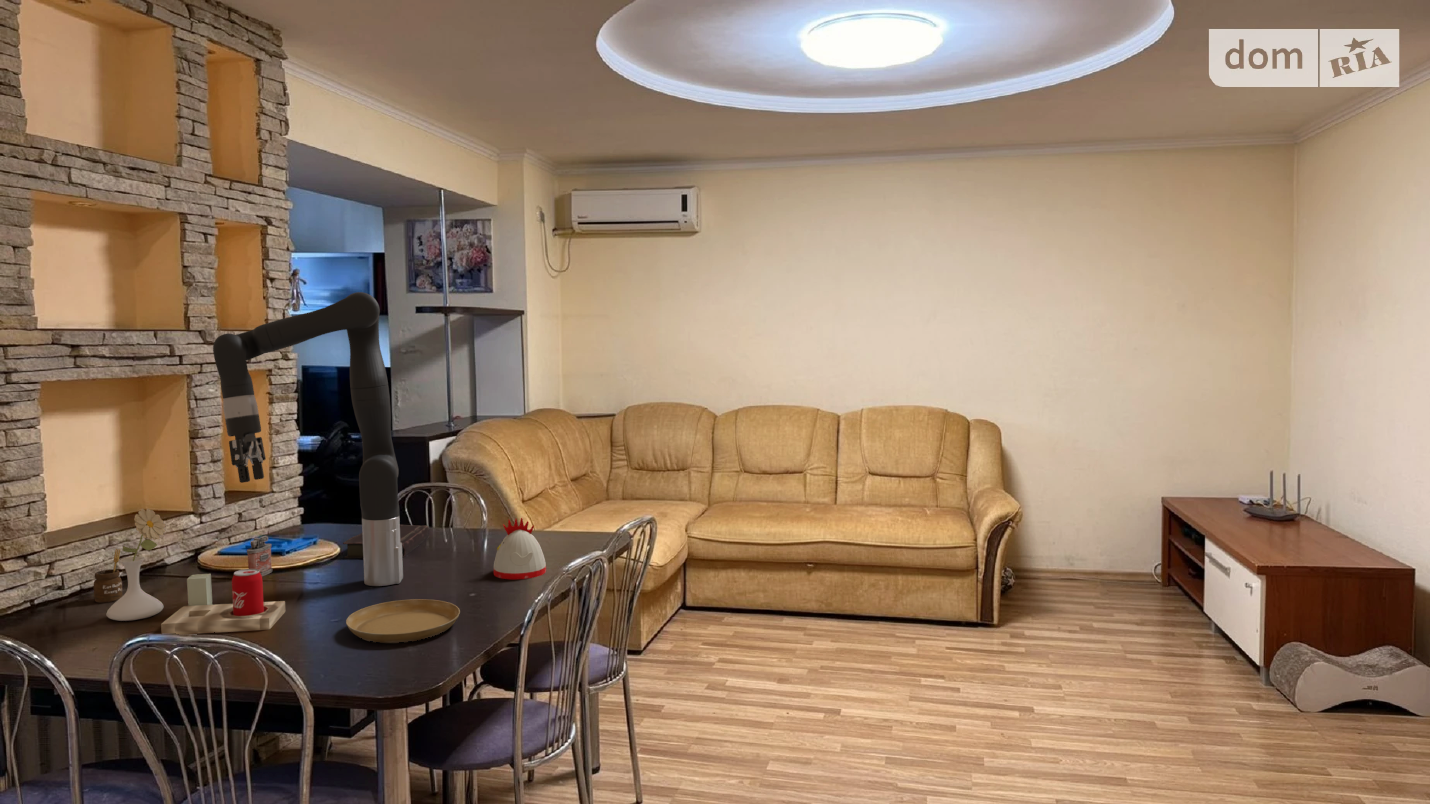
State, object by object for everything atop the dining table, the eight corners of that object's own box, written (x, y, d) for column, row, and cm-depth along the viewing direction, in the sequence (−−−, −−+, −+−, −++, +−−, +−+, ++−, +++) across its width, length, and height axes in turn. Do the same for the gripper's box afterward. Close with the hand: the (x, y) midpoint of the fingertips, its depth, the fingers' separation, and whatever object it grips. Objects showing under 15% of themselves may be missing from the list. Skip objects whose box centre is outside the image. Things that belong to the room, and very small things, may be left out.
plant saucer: (462, 641, 206) (461, 626, 206) (342, 653, 200) (341, 637, 199) (458, 608, 229) (458, 595, 229) (350, 618, 223) (350, 604, 222)
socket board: (285, 613, 225) (284, 600, 225) (269, 631, 213) (269, 618, 212) (184, 618, 222) (183, 606, 221) (161, 637, 209) (161, 623, 209)
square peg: (212, 610, 228) (210, 573, 227) (207, 616, 224) (205, 578, 223) (194, 612, 227) (192, 574, 226) (188, 617, 223) (186, 579, 222)
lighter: (256, 578, 256) (254, 541, 255) (244, 578, 256) (243, 541, 255) (275, 570, 263) (274, 534, 263) (264, 570, 264) (263, 534, 263)
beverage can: (240, 619, 221) (238, 568, 220) (268, 618, 221) (266, 567, 220) (229, 628, 215) (226, 575, 214) (258, 627, 215) (255, 574, 214)
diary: (430, 540, 302) (430, 524, 302) (405, 560, 277) (405, 543, 277) (370, 539, 302) (370, 524, 301) (340, 559, 277) (339, 542, 276)
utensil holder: (88, 601, 235) (85, 553, 234) (112, 594, 241) (110, 547, 240) (105, 604, 233) (102, 555, 232) (129, 597, 239) (126, 549, 238)
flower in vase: (122, 628, 215) (116, 518, 213) (96, 620, 221) (89, 512, 219) (181, 612, 226) (175, 507, 224) (154, 605, 232) (148, 503, 230)
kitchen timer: (491, 568, 265) (490, 514, 264) (542, 564, 269) (541, 511, 268) (496, 581, 252) (494, 525, 251) (549, 577, 256) (548, 521, 255)
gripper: (245, 413, 229) (256, 481, 229) (268, 412, 243) (278, 475, 243) (213, 418, 228) (224, 486, 229) (238, 417, 243) (248, 480, 243)
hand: (252, 480), depth 236 cm, fingers open, 8 cm apart
